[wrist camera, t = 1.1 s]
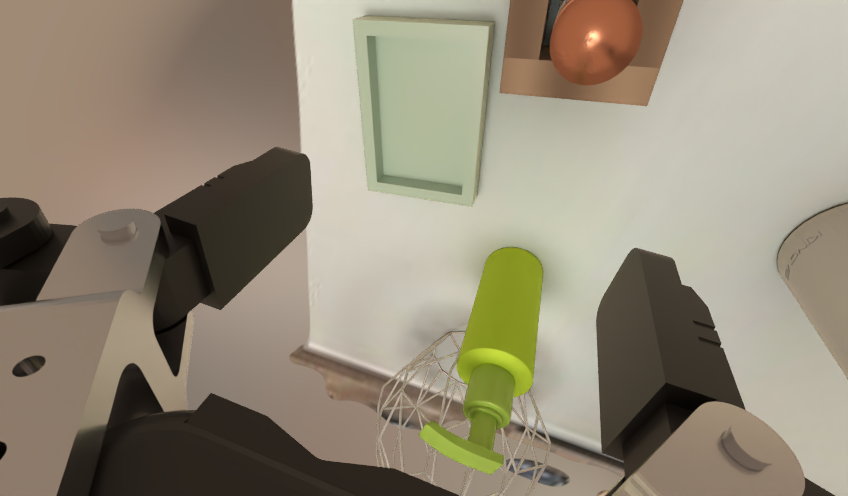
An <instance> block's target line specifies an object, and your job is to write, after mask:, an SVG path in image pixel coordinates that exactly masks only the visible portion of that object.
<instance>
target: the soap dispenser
mask: <svg viewBox="0 0 848 496" xmlns="http://www.w3.org/2000/svg"><path fill="white" fill-rule="evenodd" d="M542 279H543V268H542V265H541V263H540V261H539V260H538V259H537V258H536V257H535V256H534V255H533V254H531V253H530V252H528V251H526V250H523V249H520V248H513V247H509V248H502V249H499V250H497V251H495V252H493V253H492V254H491V255H490V256H489V257H488V259H487V260H486V263H485V266H484V270H483V273H482V277H481V280H480V284H479V287H478V291H477V294H476V298H475V301H474V305H473V308H472V312H471V315H470V319H469V322H468V326H467V329H466V333H465V336H464V340H463V343H462V347H461V350H460V354H459V357H458V361H457V371H458V374H459V376H460V377H461V379H462V380H463V381H464V382H465V383H466V384H467V385H468V388H467V392H466V396H465V400H464V404H463V413H464V415H465V416H466V418H467V419H468V420H470V421H471V422H472V424H471V428H470V433H469V437H468V441H467V440H465V439H462V438H460V437H458V436H456V435H454V434H452V433H451V432H449V431H448V430H446V429H444V428H443V427H442V426H440V425H439V424H438V423H436V422H435V421H431V422H428V423H426V425H425V426H424V427H423V429H422V430H421V432H420V433H419V436H420V437H421V438H422V439H423V440H424V441H425V442H427V443H428V444H429V445H431V446H432V447H433V448H434V449H436V450H437V451H439V452H440V453H442V454H443V455H445V456H447V457H449V458H451V459H453V460H455V461H457V462H459V463H461V464H464V465H466V466H468V467H471V468H474V469H476V470H479V471H482V472H485V473H488V474H492V473H493V472H495V471H496V470H497V469H498V468H499V467H501V466H502V465H503V460H504V456H503V455H501V454H498V453H496V452H493V445H494V439H495V433H496V429H501V428H504V427H506V426H507V425H508V424H509V422H510V418H511V411H512V403H513V397H517V396H520V395H523V394H524V393H526V392H527V391H528V390H529V389H530V388H531V386H532V383H533V374H534V364H535V353H536V343H537V332H538V322H539V311H540V300H541V290H542Z"/></svg>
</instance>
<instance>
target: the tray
mask: <svg viewBox="0 0 848 496" xmlns="http://www.w3.org/2000/svg"><path fill="white" fill-rule="evenodd" d="M494 23H495V22H489V21H468V20H447V19H426V18H405V17H384V16H363V17H359V18H356V19H353V29H354V40H355V51H356V62H357V74H358V85H359V96H360V108H361V119H362V130H363V141H364V153H365V164H366V175H367V187H368V190H369V191H376V192H382V193H388V194H395V195H401V196H407V197H413V198H420V199H426V200H432V201H439V202H445V203H451V204H457V205H464V206H470V207H472V206H473V204H474V201H475V199H476V196H477V192H478V182H479V172H480V162H481V152H482V143H483V133H484V123H485V113H486V103H487V93H488V83H489V73H490V63H491V53H492V43H493V33H494Z"/></svg>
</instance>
